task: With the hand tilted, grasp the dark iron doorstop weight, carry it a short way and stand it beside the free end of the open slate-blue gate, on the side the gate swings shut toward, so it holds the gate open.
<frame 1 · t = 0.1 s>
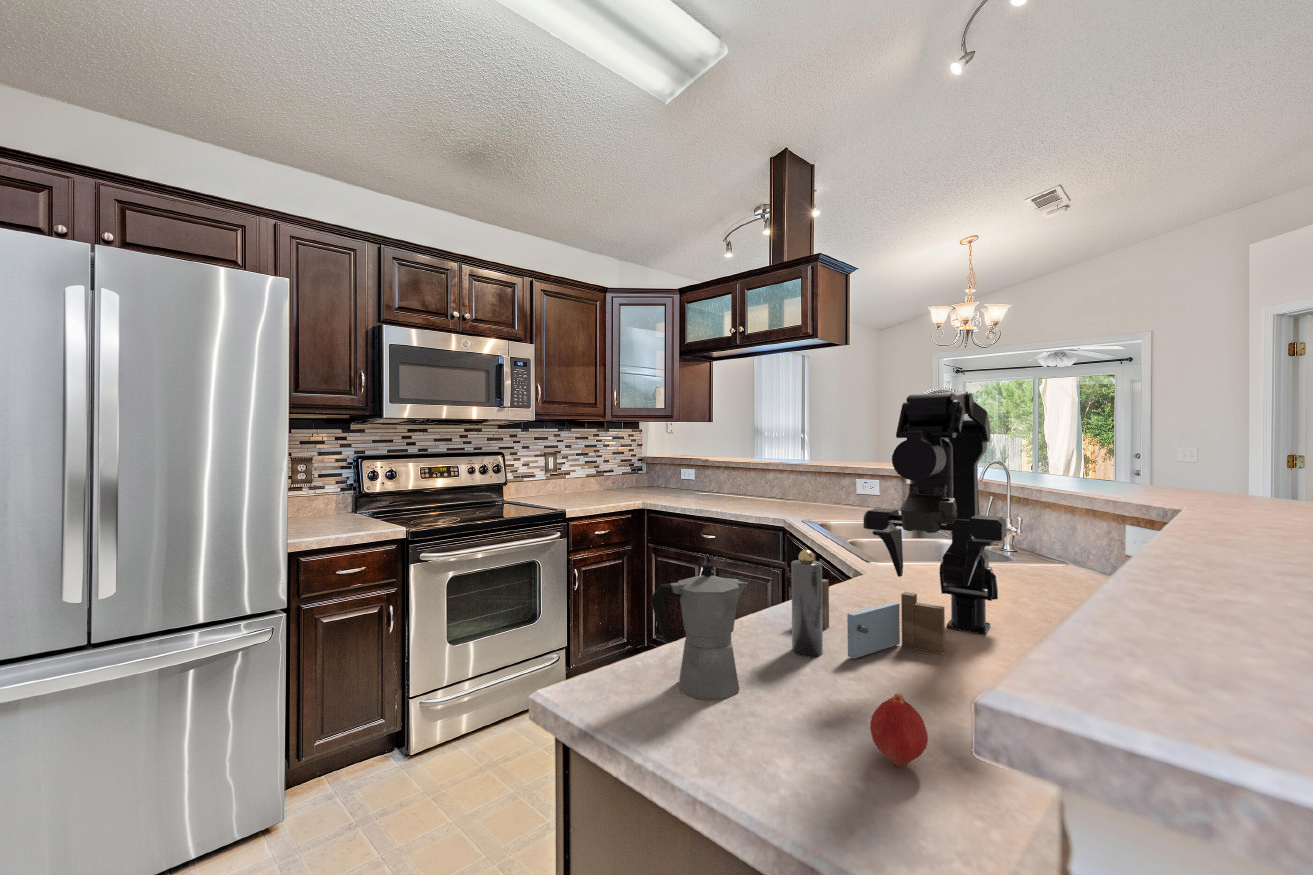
hand: (932, 580, 85), 15 cm above the countertop, tool pointing down, fingers open, 9 cm apart
fence: (865, 636, 102), on the countertop
gate: (877, 630, 94), point 4 cm above the countertop, hinge at 70.0°
doorstop: (807, 651, 96), on the countertop
coffeepot: (701, 689, 82), on the countertop
onion: (898, 766, 62), on the countertop
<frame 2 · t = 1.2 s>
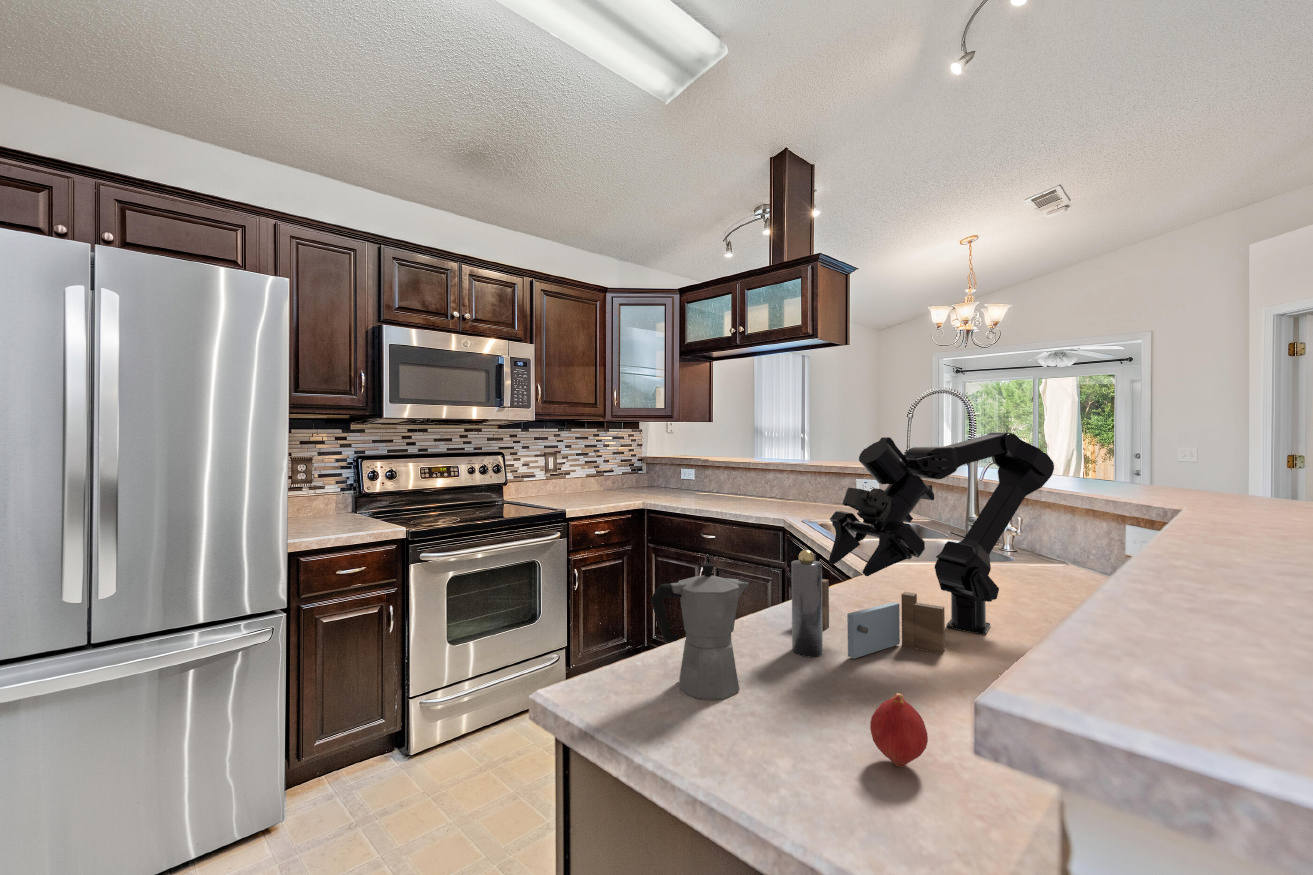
hand: (846, 568, 98), 13 cm above the countertop, tool tilted 45°, fingers open, 9 cm apart
nothing on the countertop moved.
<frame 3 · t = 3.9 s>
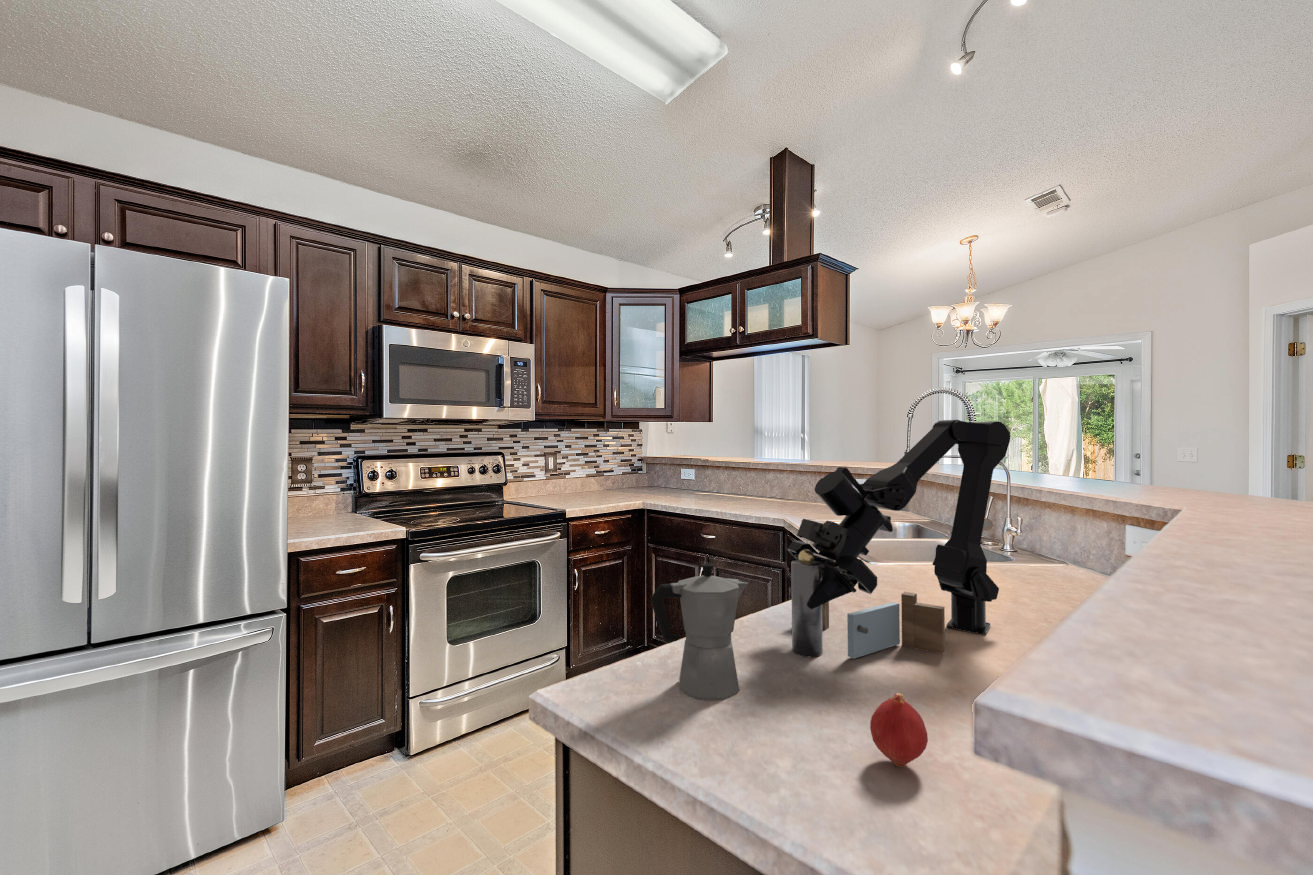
hand: (799, 602, 95), 8 cm above the countertop, tool tilted 45°, fingers closed on doorstop, 5 cm apart
doorstop: (807, 650, 96), on the countertop, touching gripper
everything else where it was.
when the fingers open (10 cm above the countertop, at t = 6.9 s): doorstop drops 1 cm, on the countertop.
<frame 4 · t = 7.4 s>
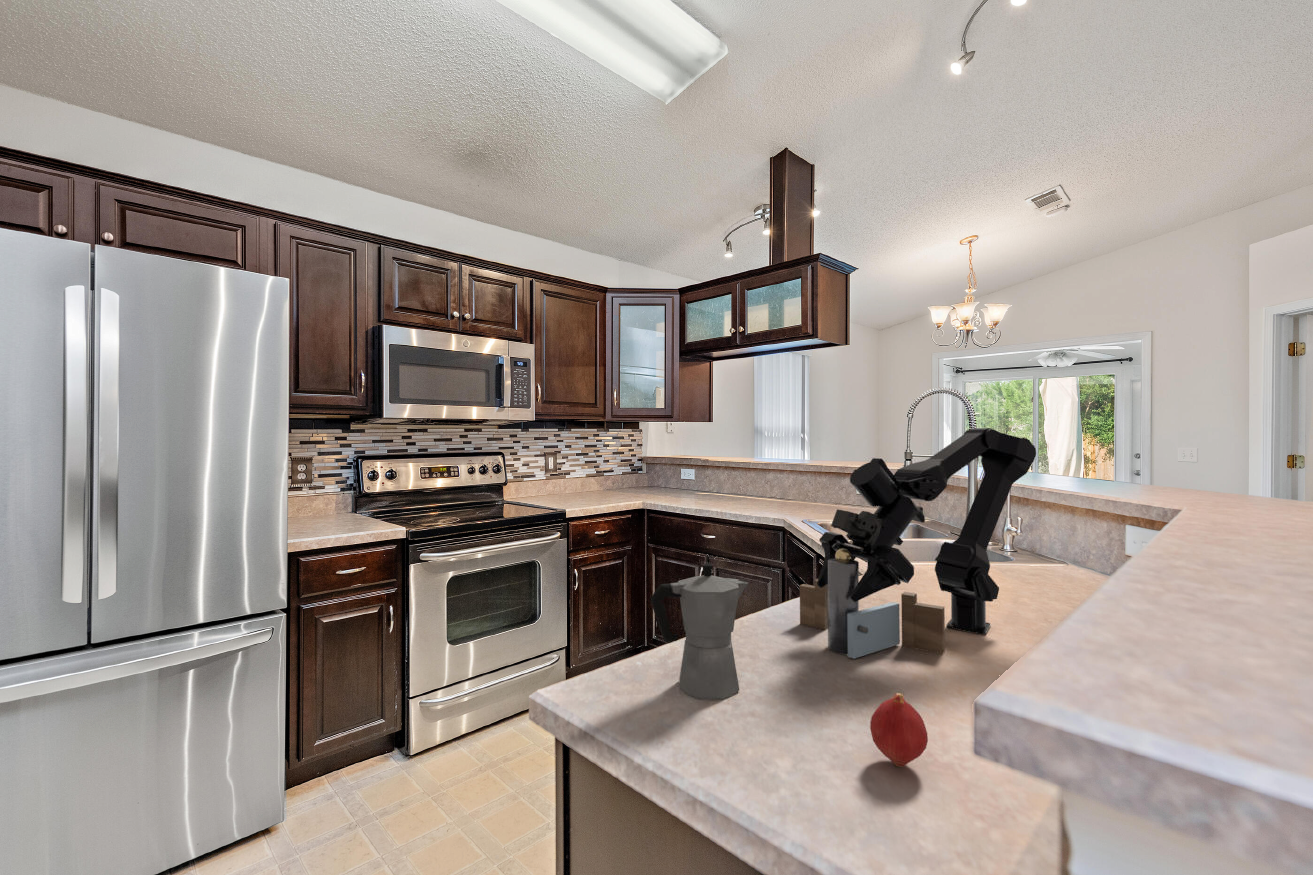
hand: (834, 592, 96), 10 cm above the countertop, tool tilted 45°, fingers open, 9 cm apart
doorstop: (843, 648, 96), on the countertop
everything else where it was.
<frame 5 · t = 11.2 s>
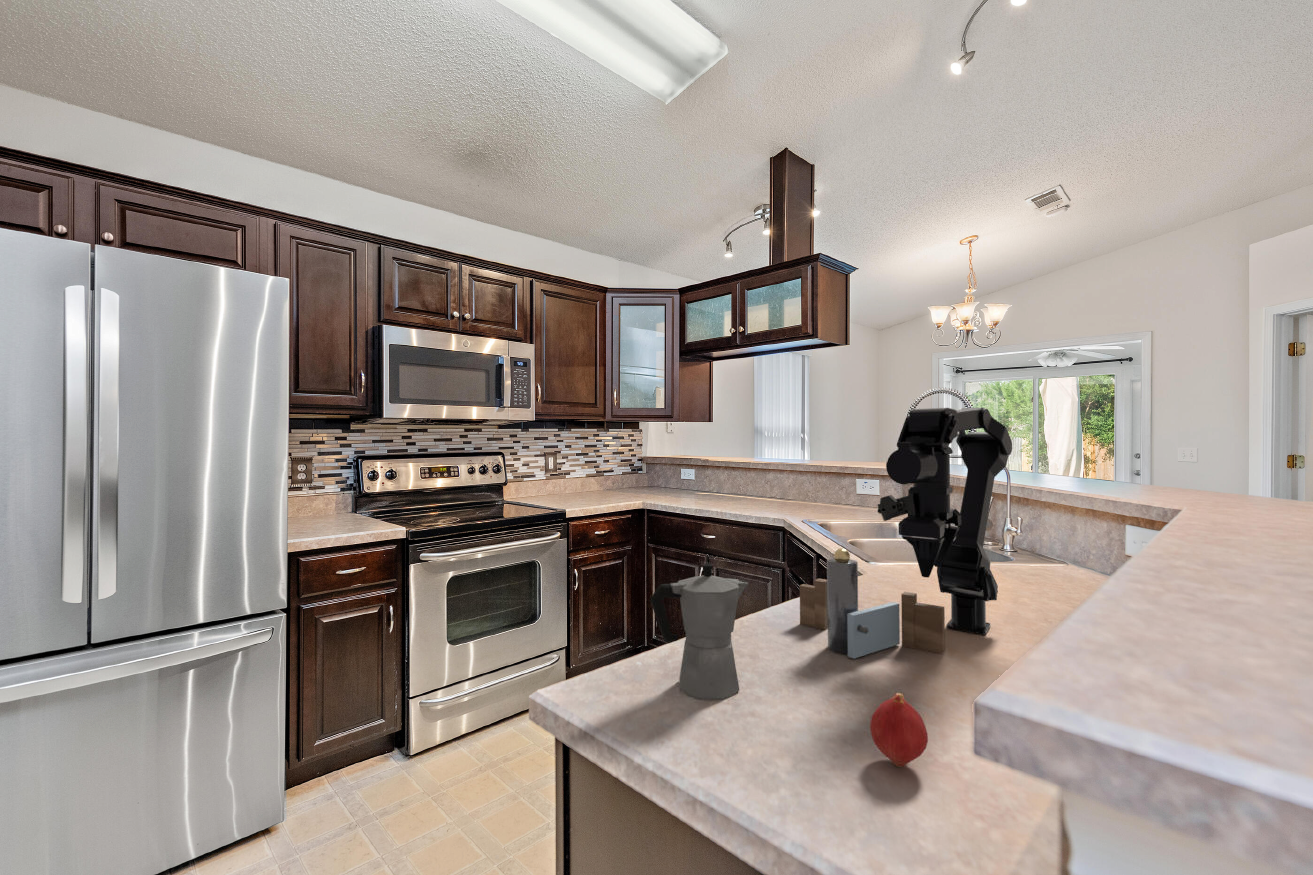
hand: (931, 571, 97), 13 cm above the countertop, tool pointing down, fingers open, 9 cm apart
nothing on the countertop moved.
at the end: doorstop 0.2 cm from the target spot, on the countertop; doorstop tilted 0°; gate at +70° (first picture: +70°) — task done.
